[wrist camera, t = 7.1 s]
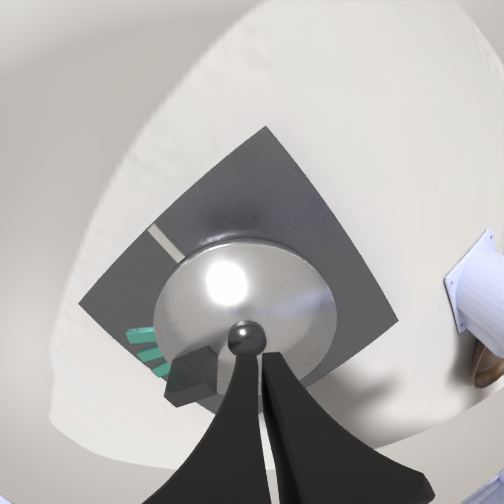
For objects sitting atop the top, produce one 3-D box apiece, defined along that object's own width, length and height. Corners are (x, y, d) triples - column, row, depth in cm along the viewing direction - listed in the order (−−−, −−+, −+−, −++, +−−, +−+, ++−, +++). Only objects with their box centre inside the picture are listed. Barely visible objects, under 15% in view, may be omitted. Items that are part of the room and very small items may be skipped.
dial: (286, 202, 16) (309, 220, 11) (349, 341, 20) (375, 383, 15) (125, 292, 17) (96, 333, 12) (218, 399, 21) (217, 446, 16)
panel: (392, 313, 21) (400, 322, 19) (233, 416, 23) (234, 427, 22) (263, 128, 16) (266, 125, 14) (84, 296, 18) (76, 305, 17)
